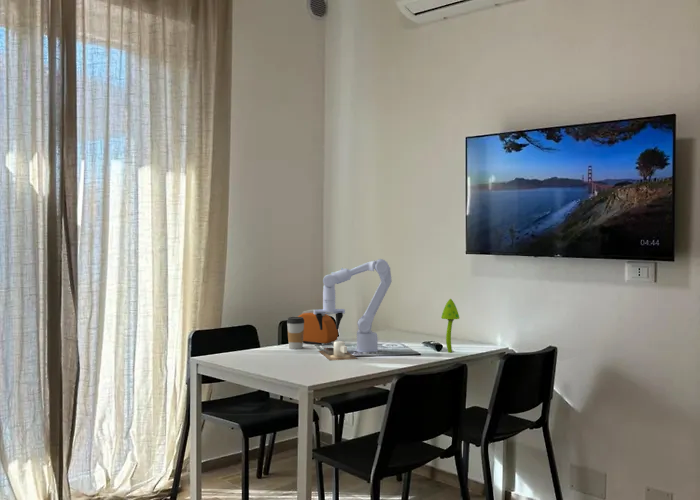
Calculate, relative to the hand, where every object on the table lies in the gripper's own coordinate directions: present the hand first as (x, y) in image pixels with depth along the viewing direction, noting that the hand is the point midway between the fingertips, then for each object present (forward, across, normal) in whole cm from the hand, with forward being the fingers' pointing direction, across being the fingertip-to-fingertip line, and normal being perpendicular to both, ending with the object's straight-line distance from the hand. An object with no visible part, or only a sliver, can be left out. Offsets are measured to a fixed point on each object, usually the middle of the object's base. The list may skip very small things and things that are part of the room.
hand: (329, 329), depth 325 cm
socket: (+10, -1, +7) cm, 12 cm away
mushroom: (+11, -54, +16) cm, 57 cm away
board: (+10, -1, +12) cm, 16 cm away
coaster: (+10, -1, +17) cm, 20 cm away
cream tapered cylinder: (+10, -1, +18) cm, 20 cm away
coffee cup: (+11, +14, -10) cm, 20 cm away
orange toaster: (+11, +2, -25) cm, 27 cm away
